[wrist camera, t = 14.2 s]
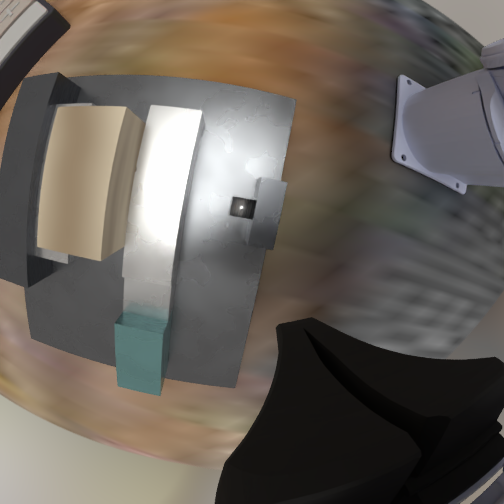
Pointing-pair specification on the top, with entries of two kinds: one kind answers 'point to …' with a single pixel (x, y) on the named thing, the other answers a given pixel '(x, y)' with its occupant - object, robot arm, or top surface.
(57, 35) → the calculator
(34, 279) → the vise base
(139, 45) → the top surface
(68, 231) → the birch block
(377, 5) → the top surface
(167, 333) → the sliding jaw
